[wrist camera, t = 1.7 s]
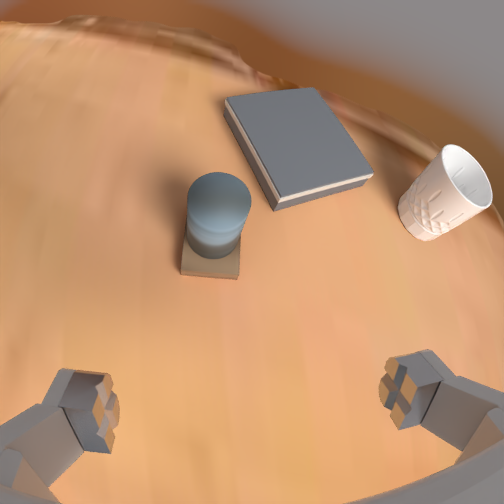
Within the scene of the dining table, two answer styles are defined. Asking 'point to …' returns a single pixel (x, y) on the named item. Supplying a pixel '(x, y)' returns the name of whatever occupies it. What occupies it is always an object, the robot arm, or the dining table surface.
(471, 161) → the white cup
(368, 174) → the dock
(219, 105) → the dining table surface
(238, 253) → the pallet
